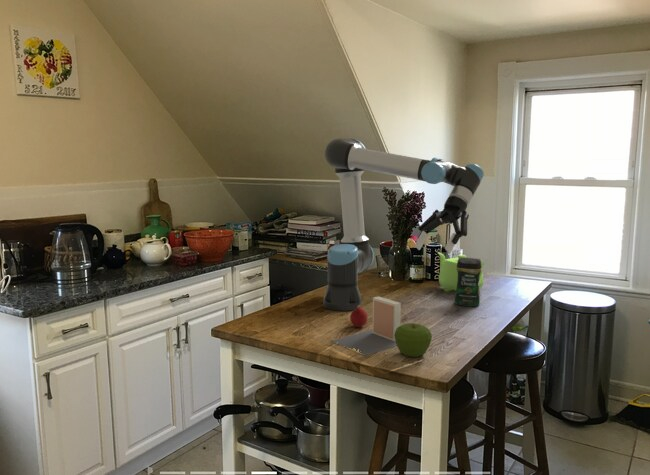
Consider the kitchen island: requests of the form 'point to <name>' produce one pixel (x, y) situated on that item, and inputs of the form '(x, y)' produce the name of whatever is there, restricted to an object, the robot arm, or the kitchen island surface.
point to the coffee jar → (468, 282)
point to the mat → (366, 342)
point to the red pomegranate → (358, 317)
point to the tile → (386, 317)
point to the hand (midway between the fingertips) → (431, 249)
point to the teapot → (452, 273)
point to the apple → (413, 339)
